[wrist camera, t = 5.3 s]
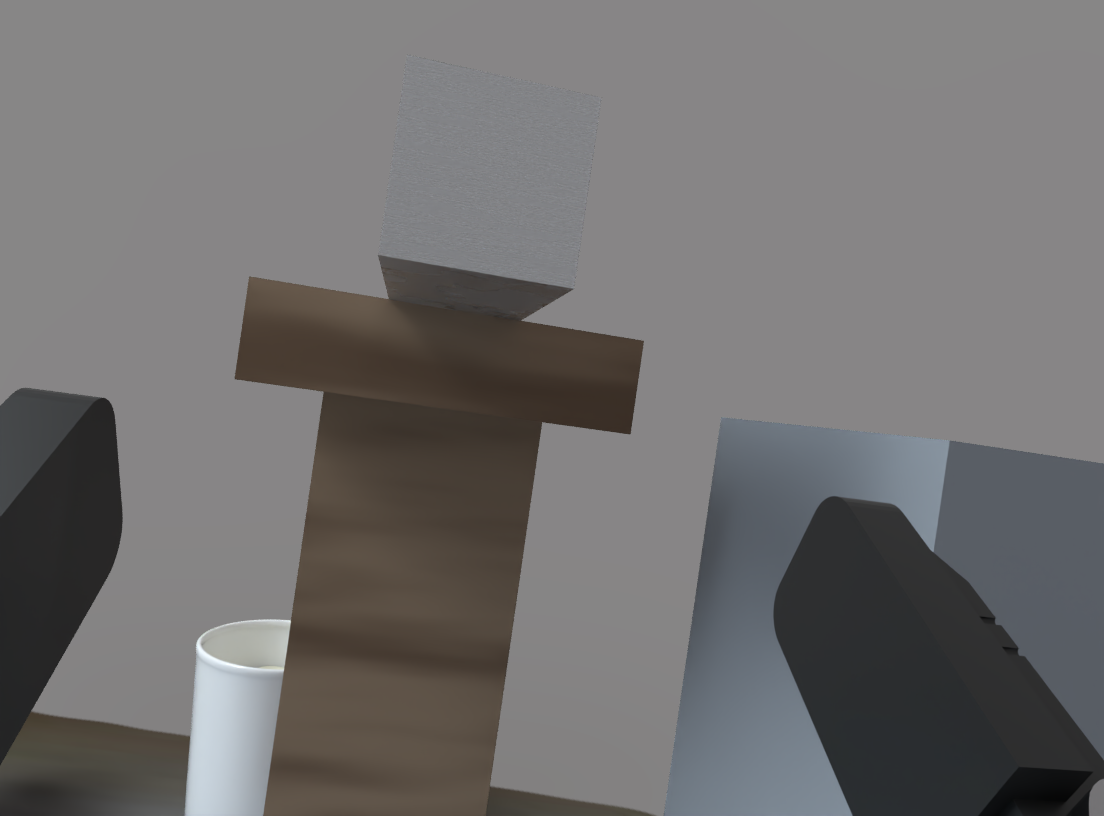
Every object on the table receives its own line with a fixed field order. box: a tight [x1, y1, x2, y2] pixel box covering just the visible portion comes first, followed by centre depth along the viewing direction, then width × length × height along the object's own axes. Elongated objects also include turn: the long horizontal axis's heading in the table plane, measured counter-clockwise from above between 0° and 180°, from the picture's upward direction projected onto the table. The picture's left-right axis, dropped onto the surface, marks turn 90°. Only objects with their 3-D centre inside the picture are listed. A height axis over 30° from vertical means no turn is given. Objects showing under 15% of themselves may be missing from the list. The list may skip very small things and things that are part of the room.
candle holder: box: [184, 620, 291, 816], centre depth 50 cm, size 10×10×12 cm
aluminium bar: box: [378, 55, 601, 321], centre depth 29 cm, size 26×4×4 cm, turn 10°
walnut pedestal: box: [235, 277, 644, 816], centre depth 32 cm, size 16×14×32 cm
